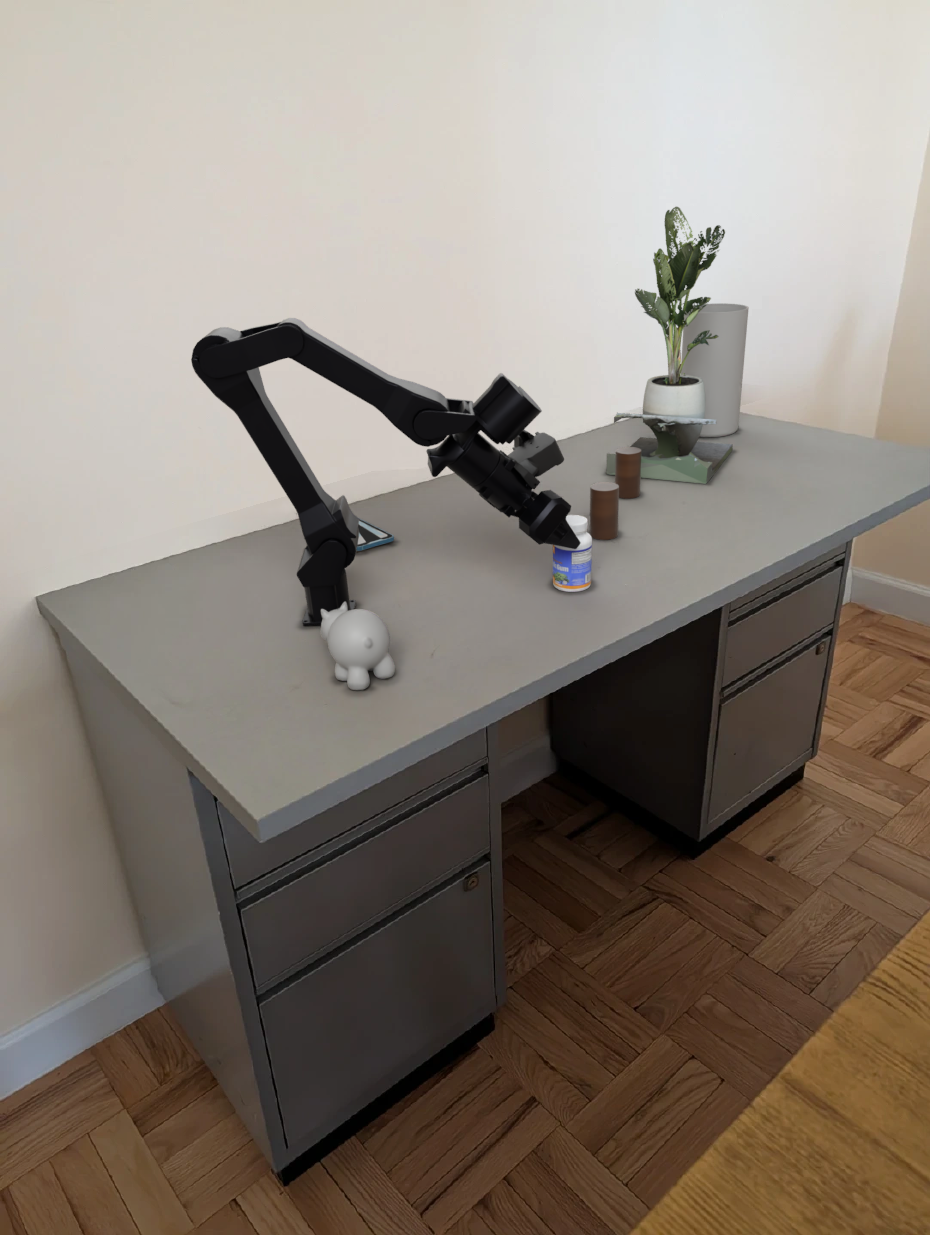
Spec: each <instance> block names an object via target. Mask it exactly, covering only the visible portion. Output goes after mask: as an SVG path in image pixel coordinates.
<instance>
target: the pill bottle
mask: <svg viewBox="0 0 930 1235" xmlns="http://www.w3.org/2000/svg"><path fill="white" fill-rule="evenodd" d="M566 521H567V522H568V524H569V526H570V527H571V529H572V530H573V532H574V533H575V535H576V536H577V538H578V539H579V541H580V545H579V546H578V547H577V549H572V548H567V547H562V546H557V545H552V585H553V587H554V588H556V589H557V590H559V591H562V592H565V593H566V592H567V593H577V592H583V591H585V590H587V589H589V588H590V587H591V585H592V564H593V563H592V562H593V559H592V558H593V538H592V537H591V535H590V532H588V528H589V525H588V518H586V516H583V515H578V514H568V515H567V516H566Z"/></svg>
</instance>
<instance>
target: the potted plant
mask: <svg viewBox="0 0 930 1235" xmlns="http://www.w3.org/2000/svg"><path fill="white" fill-rule="evenodd" d="M685 222H686V224H684V223H685ZM677 224H679V225H677ZM685 225H686V226H688V230H690V231H689V233H687V231H686V227H685ZM679 228H680V229H679ZM721 228H722V225H719V224H718V225H716V226H714V228H713V232H712V226H709V227H707V228H706V229H705V236H704V234H703V231H702V230H701V231H699V233H700V234H699V233H698V235H697V236H698V239H699V240H698V239H697V238H696V237H695V238H694V237H693V236H694V235H693V230H692V228H691V226H690V224H689V221H688V220H687V217H686V216H685V214H684V212H683V211H682V209H681V208H680V207H679V206H675V207H673V208H672V209H667V210H666V212H665V215H664V230H665V234H664V235H665V245H666V253H667V254H665V252H664V249H662V248H658V249H657V251H656V252H653V257H654V258H653V257H652V262H653V265H654V270H655V277H656V287H657V290H658V295H659V296H657V293H656V292H651V291H648V290H645V289H642V288H641V289H640V288H637V289H634V296H635V297H636V300H637V301H638V302H639V304H640V305H641V306H640V308H642V309H644V311H643V314H646V316H648V317H650V318H652V319H655V320H656V321H657V323H658V324H659V326H661V328H662V332H663V336H664V341H665V346H666V355H667V371H668V374H665V375H664V374H663V375H656V376H653V377H650V378H648V379H647V381H646V385H645V389H644V394H643V400H642V413H630V412H629V413H628V412H616V415H615V416H614V417H613V424H615V423H617V422H619V421H620V420H621V419H627V418H628V419H642V423H643V424H644V425H646V426H647V427H649V429H650V430H651V432H652V433H653V434H654V436H655V438H654V437H644V436H643V437H642V436H640V437H639V438H638V439H637V440H635V441H634V442H633V443H632V444H631V445H629V447H636V448H639V449H641V478H643V479H652V480H661V481H662V480H663V481H674V482H683V483H692V484H694V483H695V484H703V485H704V484H705V485H707V484H708V483H709V481H710V480H711V479H712V477H713V476H714V475H715V473H716V472H717V471H718V470H719V468H720V467H721V466H722V464H723V463H724V461H725V460H726V459H727V458H728V457H729V456H730V454H731V452H732V451H733V444H732V443H731V444H730V443H720V442H711V441H710V442H709V441H698V440H699V438H700V437H699V436H700V433H701V430H702V427H703V425H708V424H717V420H713V419H704V416H705V387H704V381H703V379H702V378H700V377H696V376H690V375H685V373H683V374H684V375H681V371H682V367H683V365H684V362H685V360H686V358H687V356H688V354H689V352H690V350H691V349H693V348H694V347H695V346H697V345H698V344H704V343H705V344H707V345H709V344H708V342H707V340H706V339H715V338H717V337H719V336H718V335H714V336H713V337H710V336H712V333H710V334H709V335H708V333H709V331H710V330H707V331H708V333H707V331H703V332H701V333H700V335H699V334H698V335H697V336H698V337H697V338H695V339H694V341H695V342H694V341H693V342H692V343H690V344H688V346H687V349H688V348H690V349H688V350H687V351H688V352H687V354H686V356H685V358H684V360H683V362H682V363H681V361H682V349H681V347H682V346H681V345H682V338H683V328H684V327H685V325H687V326H688V325H689V324H690V323H691V322H692V321H693V320H694V319H695V317H696V316H697V312H698V311H699V312H700V311H701V310H702V309H703V307H705V306H707V305H704V304H709V302H710V301H711V300H712V297H710V296H704V297H703V296H700V297H696V298H693V299H690V300H689V296H690V292H691V290H692V289H693V288H694V287H695V285H696V282H697V280H698V278H699V277H700V275H701V273H702V272H703V271H706V270H708V269H710V268H711V266H712V264H713V262H714V260H715V259H716V258H717V256H718V255H717V254H718V253H719V251H720V249H719V248H720V244H721V243H722V242H723V239H724V237H725V234H726V230H725V229H724V228H722V229H721ZM679 230H681V231H682V230H684V231H682V234H683V235H685V236H683V238H685V237H686V239H684V240H683V241H682V240H681V237H679V235H678V234H679ZM678 238H679V239H680V240H679V242H677V239H678ZM690 239H692V240H690ZM684 241H685V242H684ZM694 241H695V242H697V243H695V242H694ZM706 248H708V249H707V251H705V250H706ZM703 249H704V250H703ZM704 256H705V257H704ZM684 297H685V299H684V302H683V300H682V299H683V298H684ZM693 305H694V306H693ZM702 305H704V306H702ZM700 306H702V309H701V307H700ZM677 309H678V312H677V311H676V310H677ZM691 309H693V311H692V312H691ZM689 311H690V314H689V316H688V312H689ZM699 312H698V313H699ZM686 313H687V314H686ZM684 314H685V315H687V316H688V317H687V318H686V319H685V321H684ZM687 326H686V327H687ZM702 334H703V335H702ZM707 335H708V336H707ZM702 336H703V337H702ZM706 336H707V337H706ZM699 337H701V339H700V338H699ZM615 456H616V453H606V469H605V470H606V471H605V473H606V475H611V476H615Z"/></svg>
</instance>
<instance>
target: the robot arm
mask: <svg viewBox="0 0 930 1235" xmlns="http://www.w3.org/2000/svg"><path fill="white" fill-rule="evenodd" d="M285 359H291V360H292V361H294V362H296V363H298V364H300V365H301V366H303V367H305V368H307V369H308V370H310V371H311V372H313V373H315V374H317V375H318V376H320V377H323V378H324V379H326V380H327V381H329V382H330V383H333V384H334V385H335V386H338V387H339V388H341V389H342V390H345V391H347V392H348V393H350V394H352V395H354V396H355V397H356V398H358V399H361V400H362V401H364V402H365V403H367V404H369V405H370V406H372V407H374V408H375V409H376V410H378V411H379V412H380V413H381V414H382V415H383V416H384V417H385V418H386V419H387V420H388V421H389V422H390V423H391V424H392V425H393V426H394V427H395V428H396V429H397V430H398V431H399V432H401V433H402V434H404V435H405V436H406V437H407V438H408V439H409V440H411V441H412V442H413V443H414V444H416V445H419V446H421V447H426V448H427V447H428V448H427V449H426V451H425V452H426V454H427V467H428V469H429V472H430V474H431V476H432V478H436V477H438V476H439V475H440V474H441V473H442V472H443V471H444V470H445V469H446V468H448V469H449V470H450V471H452V472H453V473H454V474H455V475H456V476H458V477H459V478H460V479H461V480H462V481H464V482H465V483H466V484H467V485H468V486H469V487H471V488H472V489H473V490H475V491H476V492H477V493H478V496H479V497H481V498H482V499H483V500H484V501H486V502H487V503H488V504H489V505H490V506H491V507H493V509H496V510H497V511H499V512H500V513H502V514H504V515H505V516H507V517H508V518H510V517H511V516H512V517H514V518H517V519H518V529H519V530H520V531H522V532H523V533H524V534H525V535H526V536H527V537H529V538H530V539H531V540H533V541H534V542H535V543H536V544H537V545H539V546H541V545H543V544H544V545H545V544H546V545H552V546H553V545H557V546H562V547H567V548H572V549H577V547H578V546H579V545H580V541H579V539H578V538H577V536H576V535H575V533H574V532H573V530H572V529H571V527H570V526H569V524H568V522H567V521H566V516H567V515H569V513H570V512H571V510H572V505H571V504H570V503H569V502H568V501H567V500H565V499H564V498H563V497H562V496H561V495H559V494H557V493H556V492H555V491H553V490H552V489H546V490H540V492H539V493H537V492H536V491H534V490H536V488H537V487H538V486H539V485H540V483H541V481H540V480H539V479H538V478H537V477H540V476H542V475H544V474H545V473H547V472H548V471H550V470H552V469H553V468H554V467H556V466H560V465H561V464H563V463H564V461H565V457H564V455H563V453H562V450H561V449H560V446H559V444H558V442H557V440H556V438H555V437H554V436H551V435H550V434H548V433H546V432H539V431H536V432H535V433H534V434H532V433H531V432H529V431H527V430H526V428H527V427H528V426H529V425H530V424H531V423H532V422H533V421H535V419H536V418H537V417H538V416H539V415H540V414H541V413H542V412H543V410H542V409H541V407H540V406H539V405H538V404H537V402H536V401H535V400H534V399H533V398H532V397H531V396H530V395H529V394H528V393H527V391H526V390H524V388H523V387H521V385H519V386H518V385H517V384H516V383H515V382H513V381H512V380H511V379H509V378H508V377H507V376H506V375H505V374H504V373H502V372H500V373H498V375H497V376H496V377H494V379H493V380H492V382H491V383H490V385H489V386H488V388H487V389H485V390H484V392H483V393H482V394H481V395H480V396H479V397H478V398H477V399H476V400H475V401H474V402H473V400H470V399H469V400H468V399H459V398H449V397H446V396H445V395H444V394H443V393H442V392H440V391H438V390H436V389H433V388H431V387H428V386H425V385H423V384H420V383H417V382H414V381H410V380H407V379H402V378H399V377H396V376H393V375H391V374H388V373H387V372H385V371H383V369H380V368H378V367H377V366H375V365H373V364H371V363H370V362H368V361H367V360H365V359H364V358H362V357H360V356H358V355H356V354H355V353H353V352H351V351H350V350H348V349H347V348H345V347H343V346H342V345H339V344H337V343H336V342H335V341H332V340H331V339H329V338H328V337H327V336H324V335H322V334H321V333H319V332H317V331H315V330H314V329H313V328H311V327H309V326H308V325H307V324H306V323H305V322H304V321H302V320H301V319H298V318H296V317H287V318H285V319H283V320H282V321H278V322H274V323H268V324H263V325H259V326H253V327H250V328H247V329H243V330H237V329H235V328H232V327H229V326H228V327H226V326H221V327H217V328H214V329H212V331H210V332H209V333H207V334H206V335H205V336H203V337H202V338H201V339H200V340H198V342H196V344H195V346H194V347H193V349H192V354H191V359H190V360H191V365H192V369H193V372H194V373H195V375H197V377H198V378H199V380H200V381H201V382H202V383H203V384H204V385H205V386H206V387H207V389H208V390H209V391H210V392H211V393H212V394H213V395H214V397H216V398H217V399H218V400H219V401H220V402H222V403H223V404H224V405H225V406H226V407H228V408H229V409H230V410H232V411H233V412H234V414H235V415H236V416H237V417H238V419H239V421H240V422H241V424H242V425H243V427H244V429H245V431H246V432H247V434H248V436H249V437H250V438H251V440H252V442H253V444H254V445H255V446H256V448H257V450H258V452H259V453H260V455H261V456H262V458H263V460H265V462H266V465H268V467H269V469H270V470H271V472H272V474H273V476H274V477H275V479H276V480H277V482H278V483H279V485H280V487H281V488H282V490H283V491H284V493H285V494H286V496H287V498H288V500H289V501H290V503H291V505H292V506H293V507H294V509H295V511H296V514H297V517H298V520H299V525H300V528H301V532H302V536H303V539H304V541H305V543H306V546H305V547H304V548H303V551H302V555H301V558H300V561H299V565H298V568H297V570H296V576H297V579H298V580H299V582H300V583H301V586H302V587H303V588H304V596H305V602H306V610H305V613H304V616H303V618H302V621H301V623H302V626H305V627H309V626H321V623H322V620H323V618H322V615H321V609H324V610H326V611H328V612H330V611H332V610H336V609H339V608H340V607H341V606H342V604H343V602H345V601H346V603H347V607H348V611H349V610H353V609H356V606H357V601H356V599H350V591H349V585H348V576H347V570H346V568H348V567H350V566H351V564H352V563H353V562H354V560H355V558H356V554H357V551H356V550H357V544H358V538H359V529H358V524H359V518H360V517H358V516H357V515H355V514H354V512H353V511H352V509H351V507H350V504H349V502H348V500H347V497H346V496H345V495H344V494H343V495H341V496H340V497H339V498H337V499H336V500H335V498H333V497H332V496H331V495H330V494H328V492H326V491H325V489H324V488H323V487H322V485H321V483H320V482H319V480H318V478H317V476H316V475H315V473H314V472H313V470H312V468H311V466H310V465H309V463H308V461H307V460H306V458H305V456H304V455H303V453H302V452H301V450H300V448H299V447H298V445H297V443H296V442H295V440H294V438H293V437H292V435H291V433H290V431H289V429H288V428H287V426H286V425H285V423H284V422H283V420H282V418H281V417H280V415H279V413H278V412H277V410H276V408H275V406H274V404H273V403H272V401H271V399H270V398H269V397H268V394H267V392H266V389H265V385H264V382H263V378H262V374H261V370H260V367H264V366H267V365H269V364H272V363H275V362H278V361H282V360H285ZM479 432H482V433H483V434H484V435H485V436H486V437H487V438H488V439H490V441H492V442H493V443H494V444H496V445H499V444H501V445H504V444H505V443H506V444H509V445H511V444H512V443H513V447H512V450H513V451H511V452H509V454H507V453H505V452H504V451H502V450H501V449H498V448H497V447H496V446H494V445H493V444H492V443H491V442H490V441H489V440H487V439H486V437H484V436H483V435H482V434H481V433H479ZM436 445H438V446H436ZM432 446H436V447H434V448H429V447H432Z"/></svg>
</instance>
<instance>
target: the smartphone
mask: <svg viewBox="0 0 930 1235" xmlns="http://www.w3.org/2000/svg"><path fill="white" fill-rule="evenodd" d="M358 518H359V524H358V529H359V538H358V544H357V550H356V552H363V551H365V550H368V549H371V548H374V547H375V548H376V547H378V546H382V545H385V544H388V543H392V542H393V541H394V540H395V536H394V534H392V533H390V532H388V531H386V530H384V529H382V528H380V527H378V526H377V525H374V524H372V523H370V522H368V521H366V520H364V519H363V518H360V517H358Z"/></svg>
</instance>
